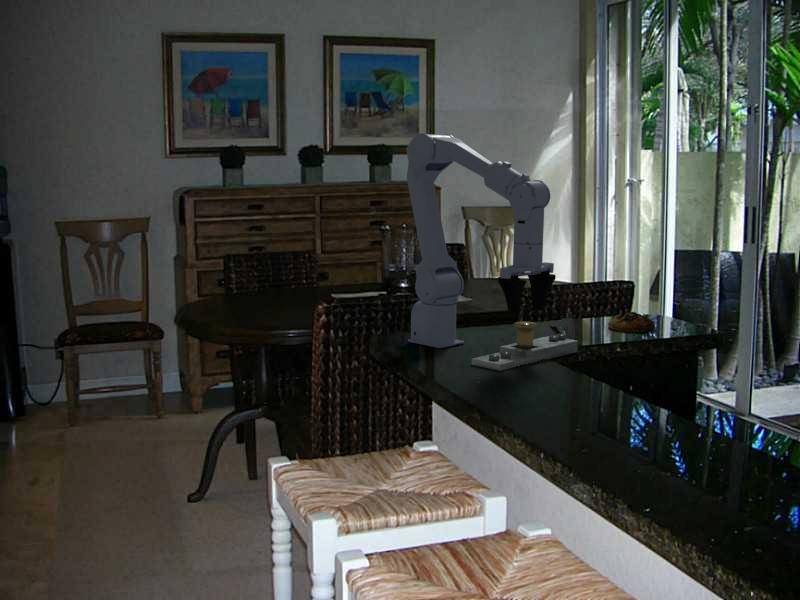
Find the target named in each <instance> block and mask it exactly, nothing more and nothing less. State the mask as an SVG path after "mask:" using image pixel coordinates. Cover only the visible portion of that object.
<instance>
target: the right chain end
mask: <svg viewBox="0 0 800 600" xmlns="http://www.w3.org/2000/svg"><path fill="white" fill-rule="evenodd" d="M578 346H579V340H575V339H573V340H571V339H566V335H565V333H557V334H555V335H549V336H544V337H539V338H533V349H528V350H525V349H520V348H517V342H514V343H510V344H506V345H500V346H499V352H500V353H501V352H510V353H511V355H515V356H520V357H525V358H530V357H535V356H539V355H543V354H547V353H550V359H549V360H551V359H555V358H557V357H559V358H560V357H563V356H566V355H567V356H568V355H570V354H571V355H572V354H575V353H578V348H579V347H578Z"/></svg>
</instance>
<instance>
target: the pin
mask: <svg viewBox="0 0 800 600" xmlns="http://www.w3.org/2000/svg"><path fill="white" fill-rule="evenodd" d="M537 327H538V323H536V322H532V321H516V322H514V328H516V331H517V332H516V343H517V348H520V349H525V350H528V349H533V339H534V332H535V331H534V329H536V328H537Z"/></svg>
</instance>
